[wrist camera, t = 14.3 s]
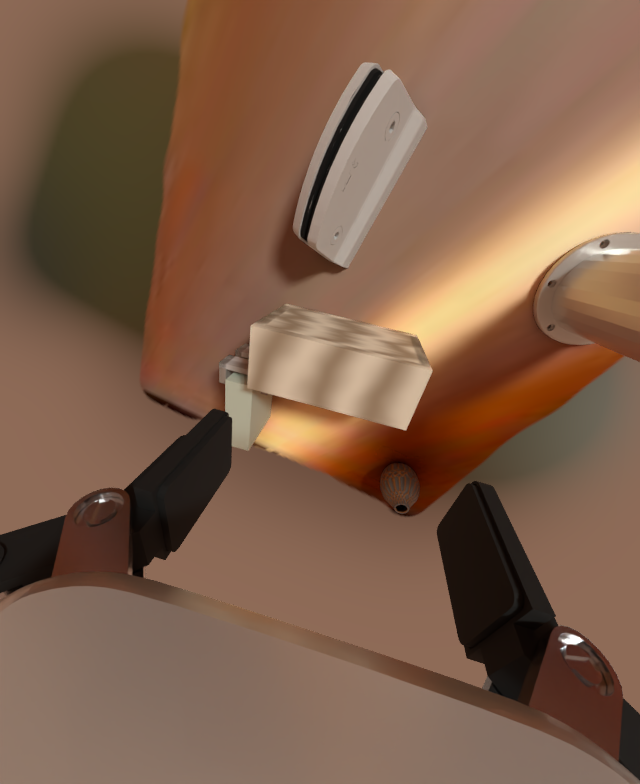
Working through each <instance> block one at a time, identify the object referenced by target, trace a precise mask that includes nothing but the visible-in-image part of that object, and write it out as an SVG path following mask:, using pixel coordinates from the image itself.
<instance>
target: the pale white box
mask: <svg viewBox="0 0 640 784" xmlns="http://www.w3.org/2000/svg"><path fill="white" fill-rule="evenodd" d="M247 382H248V375H246V374H243V373H239V372H234V373H232V374H231V375H230V376H229V377H228V378H227V379H226V380H225V412H227V413H228V414H229V417H232V446H233V447H236V448H240V449H243V450H247V451H249V449H250V448H251V446H252V445H253V443H254V441H255V440H256V438H257V437H258V435H259V434H260V432H261V430H262V429H263V427H264V426H265V424H266V423H267V421H268V419H269V418H270V414H271V405H272V396H273V395H271V394H268V395H264V394H261V392H260V391H257V390H253V389H249V388H247Z"/></svg>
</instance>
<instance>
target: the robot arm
mask: <svg viewBox="0 0 640 784" xmlns="http://www.w3.org/2000/svg"><path fill="white" fill-rule="evenodd" d="M600 243H601V245H600ZM599 245H600V246H599ZM549 281H550V284H549V285H548V283H549ZM533 313H534V317H535V321H536V323H537V325H538V327H539V329H540V330H541V331H542V332H543V333H544V334H545V335H547V336H549V337H550V338H552V339H554V340H556V341H558V342H561V343H565V344H569V345H587V344H594V343H597V344H599V345H601V346H603V347H606V348H608V349H610V350H613V351H615V352H617V353H619V354H622V355H624V356H626V357H629V358H631V359H633V360H636V361H638V362H640V233H631V232H624V233H613V234H608V235H603V236H600V237H597V238H594V239H591V240H589V241H587V242H585V243H583V244H581V245H579V246H577V247H575V248H574V249H572V250H571V251H569V252H568V253H567V254H565V255H564V256H563V257H562V258H561V259H560V260H558V261H557V262H556V263H555V264H554V265H553V266H552V268H551V269H550V270H549V271H548V272H547V273H546V275H545V277H544V278H543V280H542V281H541V283H540V285H539V287H538V290H537V292H536V295H535V299H534V304H533ZM231 452H232V417H229V414H228V413H227V412H224V411H221V410H217V409H212V410H211V411H210V412H209V413H208V414H207V415H206V416H205V417H204V418H203V419H202V420H201V421H200V422H199V423H198V424H197V425H196V426H195V427H194V428H193V429H192V430H191V431H190V432H189V433H188V434H187V435H183V436H181V437H180V438H178V439H177V440H176V441H175V442H174V443H173V444H172V445H171V446H169V447H168V448H167V449H166V450H165V451H164V452H163V453H162V454H161V455H160V456H159V457H158V458H157V459H156V460H155V461H154V462H153V463H152V464H151V465H150V466H149V467H147V469H145V470H144V471H143V472H142V473H141V474H140V475H139V476H138V477H137V478H136V479H135V480H134V481H133V482H132V483H131V484H130V485H129V486H128V487H127V488H126V489H124V490H122V489H119V488H104V489H100V490H97V491H94V492H91V493H89V494H87V495H85V496H84V497H82V498H81V499H79V500H78V501H77V502H75V503H74V504H73V506H72V507H71V508H70V509H69V511H68V513H67V515H64V516H61V517H58V518H55V519H51V520H48V521H45V522H41V523H38V524H35V525H31V526H28V527H25V528H22V529H19V530H15V531H12V532H9V533H6V534H2V535H0V784H640V714H639V713H638V712H637V711H636V710H635V709H634V708H633V707H632V706H631V705H629V703H628V702H626V701H625V699H623V692H622V686H621V684H620V681H619V679H618V676H617V674H616V672H615V671H614V669H613V667H612V666H611V665H610V663H609V661H608V660H607V659H606V657H605V656H604V655H603V654H602V653H601V651H600V650H599V649H598V648H597V647H596V646H595V645H594V644H593V643H592V642H591V641H590V640H589V639H587V638H586V637H585V636H583V635H582V634H581V633H579V632H578V631H576V630H574V629H572V628H570V627H566V626H558V624H557V622H556V620H555V618H554V617H555V616H556V615H555V614H554V611H553V609H552V607H551V605H550V603H549V601H548V599H547V597H546V595H545V593H544V590H543V588H542V586H541V584H540V582H539V580H538V578H537V576H536V574H535V572H534V570H533V568H532V566H531V564H530V561H529V559H528V558H527V555H526V553H525V551H524V549H523V547H522V545H521V543H520V541H519V539H518V537H517V535H516V533H515V531H514V528H513V526H512V524H511V522H510V520H509V518H508V516H507V514H506V512H505V510H504V508H503V506H502V503H501V501H500V499H499V497H498V495H497V493H496V491H495V489H494V488H493V486H491V485H488V484H484V483H481V482H477V481H474V482H472V483H471V484H467V485H466V486H465V487H464V489H463V490H462V492H461V493H460V495H459V496H458V498H457V499H456V500H455V502H454V503H453V505H452V506H451V508H450V509H449V511H448V512H447V514H446V515H445V516H444V518H443V519H442V521H441V522H440V524H439V526H438V529H437V536H438V541H439V546H440V551H441V556H442V560H443V565H444V570H445V575H446V580H447V585H448V590H449V595H450V599H451V605H452V609H453V614H454V619H455V624H456V628H457V634H458V637H459V641H460V643H461V644H462V645H464V647H465V652H466V656H467V658H468V659H471V660H474V661H477V662H480V663H483V664H485V667H486V671H487V675H488V676H487V678H486V680H485V683H484V685H483V687H482V689H481V688H479V687H476V686H473V685H470V684H467V683H465V682H462V681H459V680H456V679H453V678H450V677H447V676H444V675H441V674H438V673H435V672H433V671H430V670H427V669H424V668H421V667H418V666H415V665H412V664H409V663H406V662H403V661H400V660H397V659H394V658H391V657H388V656H385V655H382V654H379V653H376V652H373V651H370V650H367V649H364V648H361V647H358V646H355V645H352V644H349V643H346V642H343V641H340V640H337V639H334V638H331V637H328V636H325V635H322V634H319V633H316V632H313V631H310V630H307V629H304V628H301V627H298V626H295V625H292V624H289V623H286V622H283V621H280V620H277V619H274V618H271V617H268V616H265V615H261V614H258V613H255V612H252V611H249V610H246V609H243V608H240V607H237V606H234V605H230V604H228V603H225V602H222V601H218V600H215V599H212V598H209V597H206V596H203V595H200V594H196V593H193V592H190V591H186V590H183V589H180V588H177V587H174V586H170V585H167V584H163V583H160V582H157V581H154V580H149V579H146V566H147V565H149V563H150V562H151V561H152V559H153V558H154V557H157V558H160V559H163V560H166V558H167V557H168V555H169V554H170V552H171V551H172V552H175V551H176V550H177V549H178V548H179V547H180V545H181V544H182V542H183V541H184V539H185V538H186V536H187V535H188V533H189V532H190V530H191V529H192V527H193V526H194V524H195V523H196V521H197V519H198V518H199V517H200V515H201V513H202V512H203V511H204V509H205V508H206V506H207V505H208V503H209V502H210V500H211V498H212V497H213V495H214V494H215V492H216V491H217V489H218V488H219V486H220V485H221V483H222V482H223V480H224V479H225V477H226V476H227V474H228V473H229V471H230V468H231Z"/></svg>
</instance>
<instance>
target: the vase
mask: <svg viewBox="0 0 640 784" xmlns="http://www.w3.org/2000/svg"><path fill="white" fill-rule="evenodd" d="M380 489H381V492H382V495H383V497H384V499H385V500H386V501H387V502H388V503H389V504H390V505H391V506H392V507H393V508H394V510H395V511H396V512H398V513H401V514H404V513H407V512H408V511H409V509H410V507H411V506H412V505H413V504H414V503H415V502H416V501H417V499H418V496H419V492H420V485H419V480H418V477H417V475H416V473H415V472H414V470H413V469H412V468H411V467H409V466H408V465H406V464H403V463H393V464H390V465H388V466H387V467H386V468H385V469H384V470H383V472H382V474H381V478H380Z"/></svg>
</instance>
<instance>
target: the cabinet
mask: <svg viewBox="0 0 640 784" xmlns="http://www.w3.org/2000/svg"><path fill="white" fill-rule="evenodd" d="M234 372H239V373H243V374H246V375H248V382H247V388H249V389H253V390H257V391H260V392H261V394H264V395H268V394H271V395H275V396H279V397H283V398H286V399H290V400H294V401H298V402H301V403H305V404H309V405H313V406H316V407H320V408H324V409H327V410H331V411H335V412H339V413H342V414H346V415H350V416H354V417H357V418H361V419H365V420H368V421H372V422H376V423H380V424H383V425H387V426H391V427H395V428H398V429H402V430H406V429H407V427H408V425H409V423H410V420H411V418H412V416H413V414H414V412H415V409H416V407H417V405H418V403H419V400H420V398H421V396H422V394H423V392H424V389H425V387H426V385H427V383H428V380H429V378H430V376H431V374H432V372H433V371H432V368H431V366H430V364H429V361H428V359H427V357H426V355H425V352H424V350H423V348H422V346H421V343H420V341H419V339H418V337H417V335H413V334H409V333H405V332H401V331H397V330H393V329H389V328H384V327H380V326H376V325H372V324H368V323H364V322H360V321H355V320H351V319H347V318H343V317H339V316H335V315H331V314H326V313H322V312H318V311H314V310H310V309H306V308H302V307H297V306H293V305H289V304H285V305H283V306H282V307H280V308H278V309H277V310H275V311H274V312H272V313H270V314H269V315H267V316H265V317H264V318H262V319H261V320H259V321H257V322H256V323H254V324H252V325H251V329H250V344H246V343H245V344H244V345H242V346H241V347H239V348H238V349H237V350H236V352H235V356H232V355H228V356H227V357H226V358H224V359H223V360H221V361H220V362H219V383H223V384H225V380H226V379H227V378H228V377H229V376H230V375H231V374H232V373H234Z"/></svg>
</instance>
